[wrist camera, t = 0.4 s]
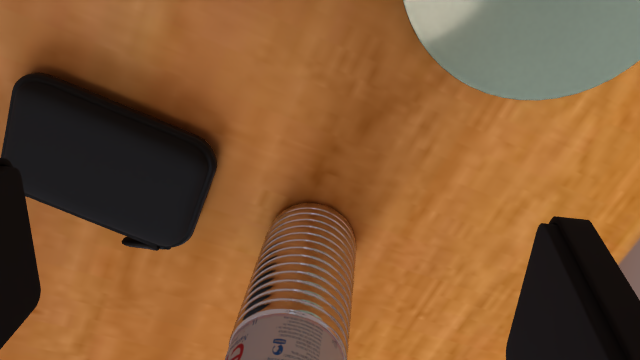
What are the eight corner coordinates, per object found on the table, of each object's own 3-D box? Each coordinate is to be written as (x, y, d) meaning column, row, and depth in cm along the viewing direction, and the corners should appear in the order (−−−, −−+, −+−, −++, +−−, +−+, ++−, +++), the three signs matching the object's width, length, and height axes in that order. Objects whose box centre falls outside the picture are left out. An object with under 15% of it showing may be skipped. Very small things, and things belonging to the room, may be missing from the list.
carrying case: (7, 183, 46) (187, 253, 47) (-17, 201, 43) (175, 276, 44) (30, 57, 41) (229, 139, 43) (5, 69, 39) (218, 156, 40)
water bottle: (309, 181, 43) (228, 490, 21) (376, 239, 45) (366, 585, 23) (249, 237, 46) (120, 565, 24) (314, 290, 48) (251, 646, 25)
